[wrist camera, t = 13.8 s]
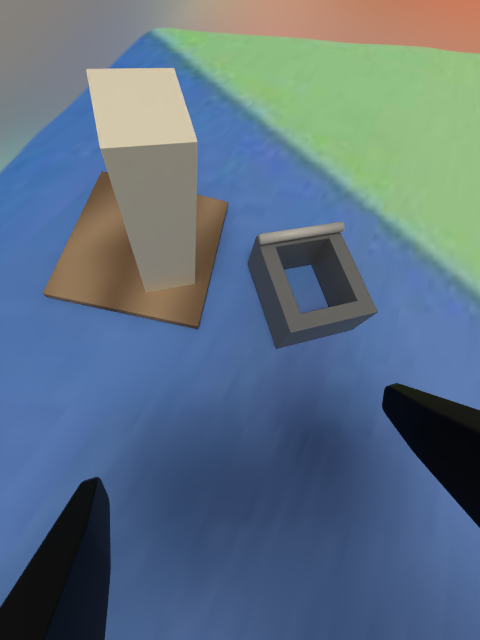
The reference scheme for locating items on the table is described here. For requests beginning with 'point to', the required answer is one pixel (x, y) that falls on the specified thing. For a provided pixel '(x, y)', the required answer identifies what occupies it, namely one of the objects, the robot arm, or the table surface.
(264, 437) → the table surface
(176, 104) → the tall pillar on plate
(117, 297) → the board
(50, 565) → the robot arm
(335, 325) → the grey hollow square frame
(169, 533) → the table surface
